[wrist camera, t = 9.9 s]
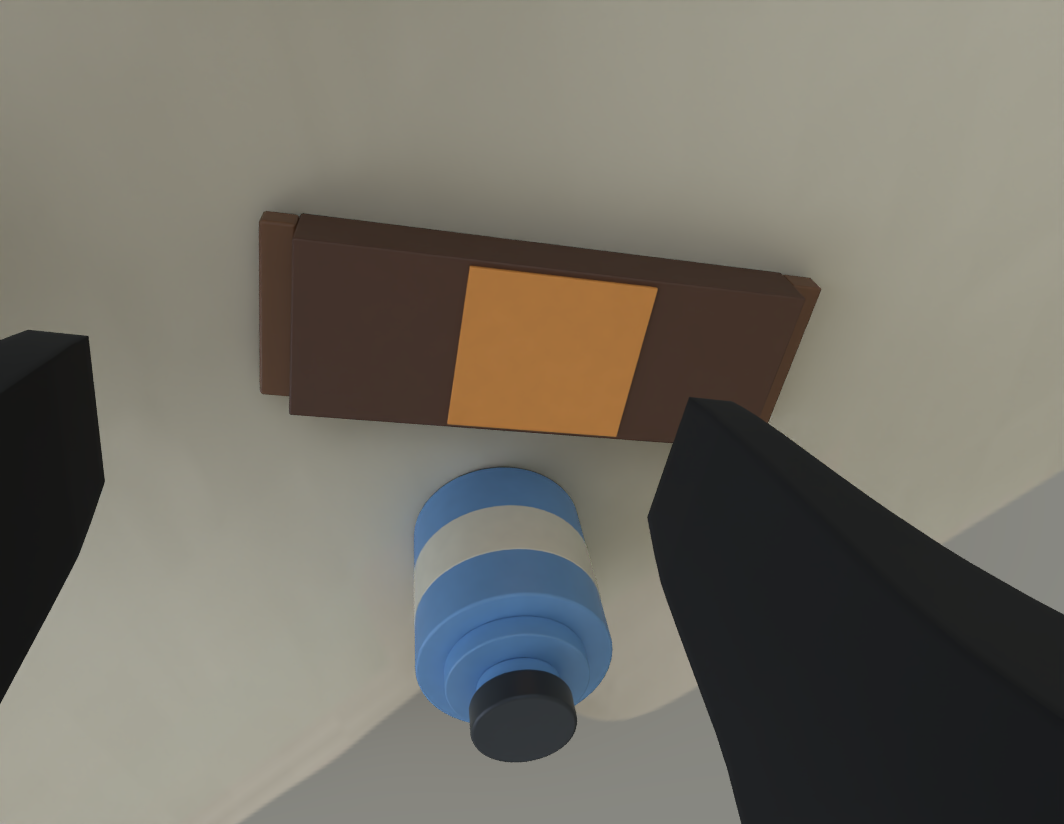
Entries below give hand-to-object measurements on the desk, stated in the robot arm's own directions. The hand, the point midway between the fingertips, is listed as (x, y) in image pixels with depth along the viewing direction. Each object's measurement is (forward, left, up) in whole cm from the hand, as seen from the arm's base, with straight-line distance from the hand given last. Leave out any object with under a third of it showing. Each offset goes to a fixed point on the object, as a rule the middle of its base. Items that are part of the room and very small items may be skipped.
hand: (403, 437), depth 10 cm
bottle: (-5, -9, -10) cm, 15 cm away
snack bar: (0, -5, -10) cm, 11 cm away
